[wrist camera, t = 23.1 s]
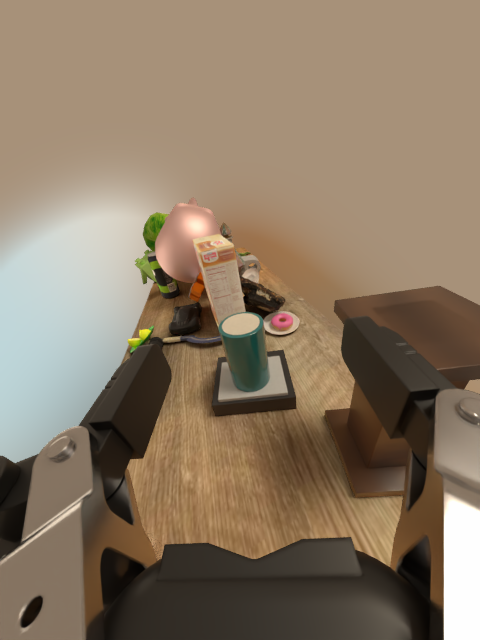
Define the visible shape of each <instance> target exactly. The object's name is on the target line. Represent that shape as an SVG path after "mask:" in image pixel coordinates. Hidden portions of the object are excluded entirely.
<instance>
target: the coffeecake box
mask: <svg viewBox="0 0 480 640" xmlns="http://www.w3.org/2000/svg"><path fill="white" fill-rule="evenodd" d="M192 241H193V245H194V248H195V252H196V256H197V259H198V263H199V266H200V270H201V274H202V277H203V281H204V284H205V288H206V292H207V295H208V299H209V302H210V306H211V310H212V313H213V316H214V318H215V321H216V324H217V326H218V327H219V324H220V323H221V321H222V320H223V319H225V318H226V317H228V316H230V315H232V314H235V313H240V312H246V311H245V306H244V300H243V294H242V288H241V283H240V277H239V272H238V266H237V260H236V255H235V249H234V244H232V243H231V242H230V241H228V240H227V239H225V238H224V237H223V236H221V235H220V234H216V235H211V236H206V237H200V238H196V239H193V240H192Z"/></svg>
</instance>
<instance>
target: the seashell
mask: <svg viewBox="0 0 480 640" xmlns="http://www.w3.org/2000/svg"><path fill="white" fill-rule="evenodd" d="M242 277H244V278H246V279H249V280H251V281H253V282H256V283H257V284H258V283H259V282H258V280H259V273H258V271H257V268H253V267H252V268H250V269H247V270H246V271H245V272H244V274H243V275H242Z"/></svg>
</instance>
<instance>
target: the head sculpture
mask: <svg viewBox="0 0 480 640" xmlns="http://www.w3.org/2000/svg"><path fill="white" fill-rule="evenodd" d="M216 234H220V235H221V232H220V229H219V226H218V224H217V221H216V219H215V217H214V214H213V212H212V211H211V210H210V209H207V208H203V207H199V206H198V204H197V202H196V200H195V198H191V199H190V200H189V203H188V204H185V203H178V204H176V205H175V207H174V208H173V210H172V211H171V213H170V214H169V215H168V216H167V217H165V223H164V225H163V227H162V229H161V231H160V233H159V235H158V236H157V239H156V242H155V253H156V258H157V260H158V263H159V264H160V266H161V267H162V269H163V270H164V271H165V272H166V273H167V274H168V275H169V276H171V277H172V278H174V279H176V280H179V281H181V282H185V283H194V281H195V279H196V277H197V275H198V273H199V272H201V271H200V266H199V263H198V259H197V256H196V252H195V248H194V245H193V241H192V240H193V239H196V238H200V237H206V236H211V235H216ZM221 236H222V235H221Z"/></svg>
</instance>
